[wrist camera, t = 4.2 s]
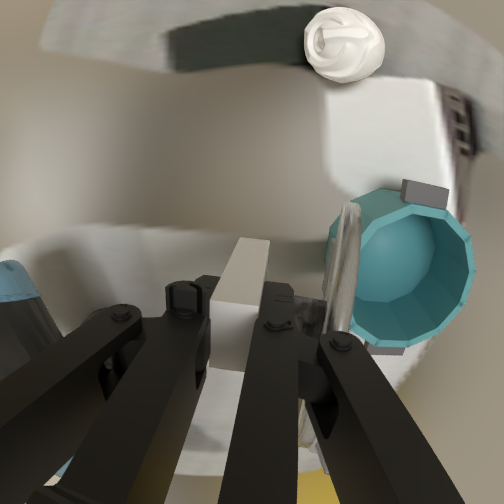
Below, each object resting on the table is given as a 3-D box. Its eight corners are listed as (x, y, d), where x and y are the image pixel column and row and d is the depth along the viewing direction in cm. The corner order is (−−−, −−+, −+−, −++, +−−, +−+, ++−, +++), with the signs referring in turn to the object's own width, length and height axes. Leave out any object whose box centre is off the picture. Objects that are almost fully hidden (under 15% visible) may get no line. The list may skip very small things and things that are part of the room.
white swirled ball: (299, 23, 26) (303, -7, 19) (367, 26, 25) (387, -1, 18) (306, 89, 29) (312, 73, 22) (375, 91, 28) (400, 78, 21)
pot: (416, 319, 36) (441, 360, 28) (307, 311, 37) (312, 357, 29) (450, 186, 30) (492, 201, 22) (330, 163, 31) (346, 170, 23)
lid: (293, 491, 14) (246, 481, 14) (322, 348, 28) (293, 342, 29) (375, 247, 9) (283, 231, 9) (353, 188, 23) (318, 182, 24)
